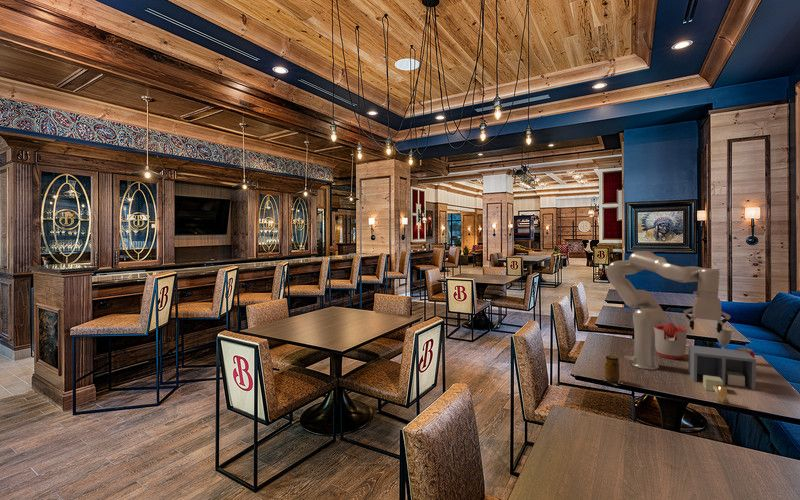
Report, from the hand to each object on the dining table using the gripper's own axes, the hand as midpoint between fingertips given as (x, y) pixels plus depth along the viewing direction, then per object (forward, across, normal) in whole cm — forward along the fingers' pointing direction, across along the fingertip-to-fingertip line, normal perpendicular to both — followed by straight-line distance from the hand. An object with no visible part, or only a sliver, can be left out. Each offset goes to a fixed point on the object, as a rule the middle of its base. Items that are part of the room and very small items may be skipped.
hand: (705, 330), depth 176 cm
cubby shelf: (+26, +8, +8) cm, 28 cm away
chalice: (+26, +15, +45) cm, 55 cm away
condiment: (+27, -36, -18) cm, 48 cm away
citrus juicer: (+27, -10, +39) cm, 49 cm away
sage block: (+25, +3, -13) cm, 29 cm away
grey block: (+26, +13, +7) cm, 30 cm away
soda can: (+26, +21, +28) cm, 44 cm away
